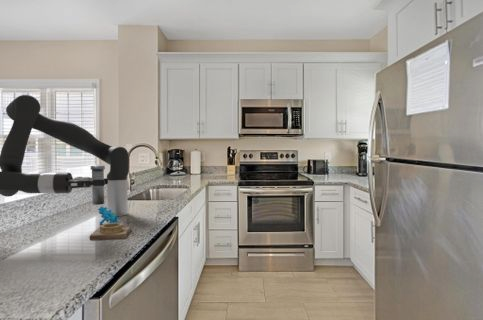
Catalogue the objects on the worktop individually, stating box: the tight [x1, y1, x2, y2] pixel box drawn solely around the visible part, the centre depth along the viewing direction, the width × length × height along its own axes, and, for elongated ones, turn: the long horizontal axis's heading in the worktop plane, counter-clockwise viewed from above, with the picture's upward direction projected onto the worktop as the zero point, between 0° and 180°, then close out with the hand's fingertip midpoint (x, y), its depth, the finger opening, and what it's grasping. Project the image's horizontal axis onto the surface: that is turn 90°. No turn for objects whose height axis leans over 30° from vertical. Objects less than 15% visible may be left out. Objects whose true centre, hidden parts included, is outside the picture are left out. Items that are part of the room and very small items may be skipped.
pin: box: [90, 165, 106, 206], centre depth 115 cm, size 5×5×14 cm
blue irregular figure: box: [97, 206, 120, 225], centre depth 134 cm, size 11×6×10 cm
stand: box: [89, 222, 132, 241], centre depth 117 cm, size 12×12×4 cm
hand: (106, 181), depth 116 cm, fingers closed on pin, 4 cm apart
